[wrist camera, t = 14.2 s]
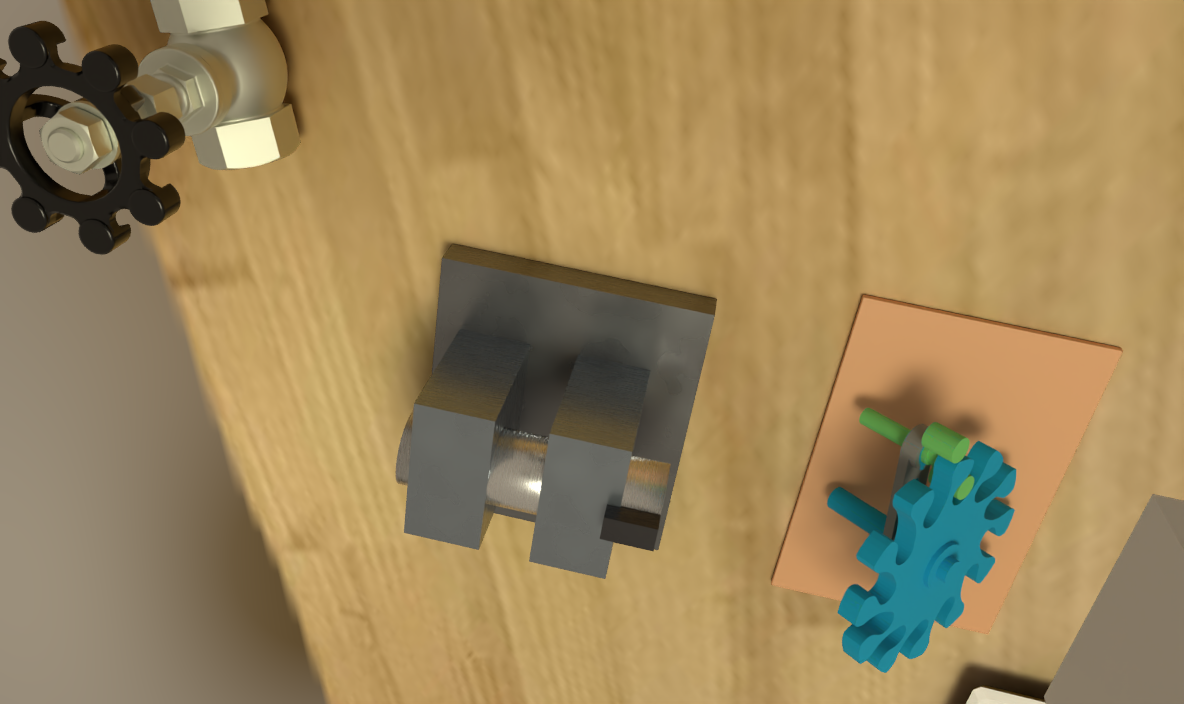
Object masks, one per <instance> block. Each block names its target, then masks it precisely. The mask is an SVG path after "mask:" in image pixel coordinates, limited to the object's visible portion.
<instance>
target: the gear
mask: <svg viewBox="0 0 1184 704" xmlns="http://www.w3.org/2000/svg"><path fill="white" fill-rule="evenodd" d="M859 422H860V423H861V424H862V425H864V426H866V427H868V428H869V429H871V430H873V431H875V432H876V433H878V434H880V435H882V436H884V437H885V438H887V439H889V440H891V441H892V442H894V443H896V444H898V445H900V446H901V451H900V456H899V460H898V465H897V470H896V475H895V480H894V484H893V489H892V494H891V499H890V504H889V508H888V513H887V515H885V514H883V513H882V512H880V511H879V510H877V509H875V508H874V507H872V506H871V505H869V504H867V503H866V502H864V501H863V500H861V499H859V498H858V497H856V496H855V495H853V494H852V493H850V492H848V491H847V490H845V489H844V488H842V487H837V488H836V489H834V490H833V491H832V493H831V494H830V496H829V498H828V501H827V506H828V507H829V508H831V509H832V510H834V511H835V512H837V513H838V514H840V515H841V516H843V517H844V518H846V519H847V520H849V521H851V522H852V523H854V524H855V525H857V526H858V527H860V528H861V529H863V530H864V531H866V532H867V533H869V534H870V535H869V536H868V537H867V539H866V540H865V541H864V543H863V544H862V546H861V547H860V549H859V551H858V552H857V554H856V558H857V560H859V561H860V562H861V563H863V564H864V565H866V566H867V567H869V568H870V569H872V570H873V571H875V572H876V573H879V576H878V579H877V581H876V583H875V585H874V586H873V587H872V588H871V589H870V590H869V591H867V590H865V589H864V588H862V587H861V586H860V585H858V584H853V585H851V586H849V587H848V588H847V590H846V592H845V593H844V596H843V598H842V601H841V603H840V606H839V610H838V614H840V615H841V616H842V617H844V618H845V619H847V620H848V621H849V622H851V623H852V625H851V626H850V627H848V628H847V630H846V631H845V632H844V634H843V638H842V646H843V651H844V652H845V653H847V654H848V655H849V656H851V657H852V658H853V659H854V660H856V661H857V662H858V663H860V664H861V663H863V662H865V661H866V660H867V661H868V662H869V663H871V664H872V665H873V666H874V667H876V668H877V669H878V670H880V671H882V672H885V673H886V672H887V671H888V670H889V669H890V668H891V667H892V665H893V664H894V662H895V660H896V658H897V655H898V653H899V652H900V653H902V654H903V655H905V656H906V657H907V658H909V659H913V658H916V657H918V656H920V655H922V654H923V653H924V651H925V650H926V648H927V646H928V643H929V636H930V632H931V628H932V625H933V623H934V621H936V622H938V623H939V624H941V625H942V626H943V627H945V628H947V627H949V626H950V625H951V624H953V623H954V622H955V621H956V620H957V619H958V618H959V617H960V616H961V614H962V613H963V611H964V603H963V602H962V600H961V589H962V584H963V580H964V577H965V576H967V577H969V578H970V579H972V580H973V581H975V582H976V583H981V582H982V581H983V580H984V578H985V577H986V576H987V574H988V573H989V571H990V570H991V568H992V567H993V565H994V563H995V558H994V557H993V556H991V555H990V554H988V553H987V552H985V551H983V550H982V549H980V542H981V540H982V538H983V536H984V534H985V533H986V532H987V531H990V532H991V533H993V534H995V535H997V536H1001V535H1003V534H1004V533H1005V532H1006V530H1007V528H1008V526H1009V524H1010V522H1011V520H1012V517H1013V514H1014V511H1015V510H1014V509H1013V508H1011V507H1009V506H1007V505H1006V504H1004V503H1002V502H1000V501H998V500H997V499H994V498H995V497H1001V498H1004V497H1006V496H1008V495H1009V494H1010V493H1011V492H1012V490H1013V489H1014V486H1015V482H1016V469H1015V468H1013V467H1011V466H1010V465H1008V464H1006V463H1004V462H1003V457H1002V455H1001V453H1000V452H999V451H997V450H996V449H994V448H992V447H990V446H988V445H986V444H984V443H982V442H980V441H977V442H976V443H975V444H974V445H973V447H972V448H971V449H970V451H969V453H968V456H965V455H966V453H967V451H968V448H969V444H970V441H969V439H968V438H966V437H964V436H962V435H960V434H959V433H957V432H955V431H953V430H951V429H949V428H947V427H945V426H943V425H941V424H939V423H938V422H934V423H932V424H931V425H930V426H927V425H925V424H919V425H917V426H915V427H914V428H913V429H912V430H910V429H908V428H906V427H904V426H902V425H901V424H899V423H897V422H895V421H893V420H891V419H890V418H888V417H886V416H884V415H882V414H880V413H879V412H877V411H875V410H873V409H871V408H866V409H865V410H864V411H863V412H862V413H861V415H860V418H859ZM930 465H932V469H931V471H930V473H929V469H930ZM928 474H929V477H928ZM927 478H928V481H929V483H931V484H930V487H927V486H926V482H927Z"/></svg>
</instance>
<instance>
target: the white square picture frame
mask: <svg viewBox="0 0 1184 704" xmlns="http://www.w3.org/2000/svg"><path fill="white" fill-rule="evenodd" d="M966 704H1046V702H1045V700H1043V699H1039V698H1035V697H1030V696H1026V695H1022V694H1018V693H1014V692H1010V691H1006V690H1002V689H998V688H993V687H989V686H985V685H982V686H979V687H976V688H974V689H973V691H972V693H971V695H970V697H969V699H968V701H967V703H966Z"/></svg>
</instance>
